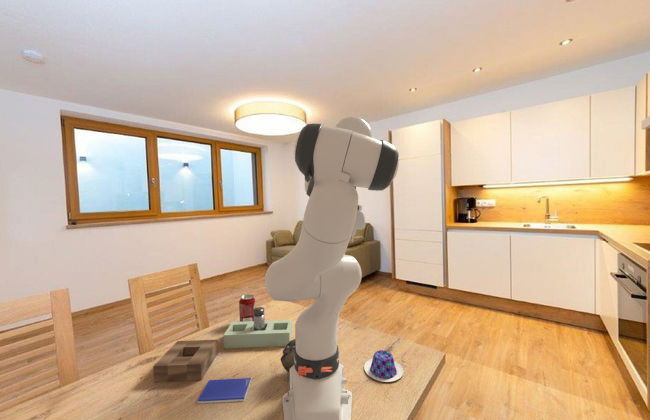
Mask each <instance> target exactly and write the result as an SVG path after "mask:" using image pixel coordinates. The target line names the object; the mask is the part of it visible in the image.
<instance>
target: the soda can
mask: <svg viewBox="0 0 650 420" xmlns="http://www.w3.org/2000/svg"><path fill="white" fill-rule="evenodd" d="M238 303H239V305H238V307H239V308H238V309H239V322H246V321H254V311H253V310H254V309H255V308H256V299H255V297H254V295H253V294H250V293H249V294H244V295H241V296H240V299H239V302H238Z"/></svg>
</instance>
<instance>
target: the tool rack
mask: <svg viewBox="0 0 650 420" xmlns="http://www.w3.org/2000/svg"><path fill="white" fill-rule="evenodd" d="M292 333H293V320H292V319H277V320H265V330H263V331H254V321H246V322H240V321H232V322H230V324H229V326H228V328H227V329H226V331H225V332H224V334H223V335H222V337H223V349H247V348H248V349H249V348H251V349H252V348H272V347H273V348H274V347H275V348H276V347H286V345H287V344H288V343H289V342H290V341H291V340H292Z"/></svg>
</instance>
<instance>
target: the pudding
mask: <svg viewBox="0 0 650 420" xmlns="http://www.w3.org/2000/svg"><path fill="white" fill-rule="evenodd" d="M363 369H364V372H365V373H366V374H367V376H369V377H370V378H371V379H374V380H376V381H379V382H385V383H389V382H390V383H391V382H395V381H398V380H400V379H401V378H402V377H403V375H404V368H403V366H402V365H401V364H400V363H399V362H398V361H395V360H394V356H393V354H392V353H391V352H389V351H388V350H383V349H379V350H377V351H375V352H374V353H373V356H372V358H369V359H368V360H367V361H366V362H365V363H364V365H363Z"/></svg>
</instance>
